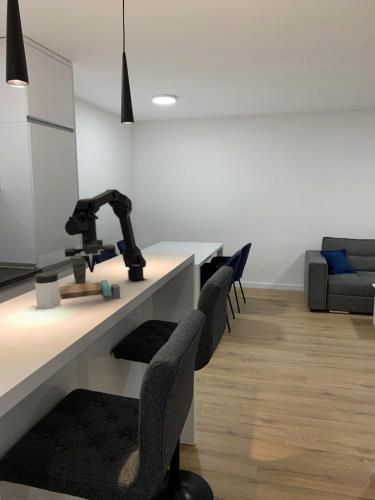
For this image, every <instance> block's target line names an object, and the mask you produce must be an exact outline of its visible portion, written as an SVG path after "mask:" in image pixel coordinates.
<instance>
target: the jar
mask: <svg viewBox="0 0 375 500" xmlns="http://www.w3.org/2000/svg"><path fill="white" fill-rule="evenodd" d="M59 282H60V281H59V274H58V272H56V271H47V272H46V271H44V272H39V273H36V274H35V275H34V285H35V296H36V305H37V308H38V309H52V308H55V307H58V306H61V295H60V291H59V287H60V283H59Z"/></svg>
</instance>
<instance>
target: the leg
mask: <svg viewBox="0 0 375 500" xmlns="http://www.w3.org/2000/svg"><path fill="white" fill-rule="evenodd" d="M100 282H101V287H102V290H103V293H104V294H103V295H104V296H105V297H106V296H112V295H111V288H110V287H111V285H110V284H109V282H108V279H107V280H106V279H103V280H100Z"/></svg>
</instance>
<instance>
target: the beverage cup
mask: <svg viewBox="0 0 375 500" xmlns="http://www.w3.org/2000/svg"><path fill="white" fill-rule="evenodd" d="M74 247H75V249H78V248H77V242H76V240H75V239H74ZM70 262H71V265H72V272H73V277H74V283H75V285H78V284H86V279H87V277H86V275H87V274H86V271H87V270H86V269H87V267H86V266H87V262H86V260H85V259H84V258H81V255H80V254H76V255H75V256H71V257H70Z"/></svg>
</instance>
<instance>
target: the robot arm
mask: <svg viewBox="0 0 375 500" xmlns="http://www.w3.org/2000/svg"><path fill="white" fill-rule="evenodd" d="M107 204H108V205H109V206H110V207H111V209H112V212H113V214H114V215H115V217H117V218H118V221H119V224H120V231H121V234H122V238H123V245H124V247H125V248H124V251H123V252H122V254H121V257H122V259H123V260H122V261H123V262H124V267H125V268H128V270H127V279H128V280H129V281H130V282H139V281H145V280H146V279H145V277H144V268H146V267H147V261H146V258H145V257H144V255H143V254H142V251H141V249H140V248H139V247H138V246H137V244H136V239H135V236H134V230H133V226H132V225H133V224H132V219H131V214H132V211H133V203H132V200H131V199H130V198H129V196H127V195H125V194H124V193H122V192H120V191H119V190H118V189H106V190H104V192H102V193H99V194H97V195H94V196H93V197H87V198H82V199H78V200H77V201H76V204H75V206H74V209H73V211H72V214H71V216H68V220H67V221H66V222H65V225H64V231H65V232H66V234H67V235H69V236H79V235H81V236H80V237H81V248H77V249H76V247H75V246H72V247H71V246H70V247H69V246H68V247H65V248H64V257H65V258H69V257H70V258H71V256H75V255H76V254H80V255H81V258H84V259H85V260H86V265H87V267H88V269H89V271H90V273H94V270H95V265H96V262H97V260H98V257H101V255H102V254H101V252H102V253H103V252H105V253H106V254H116V253H117V251H116V245H114V244H113V243H111V244H110V243H109V244H108V243H107V244H104V243H103V241H104V240H103V239H98V235H97V233H98V232H97V223H96V222H97V221H96V220H99V216H97V215H96V214H97V213H98V212H99V211H100V209H101V207H103V206H105V205H107ZM90 254H91V259H90Z"/></svg>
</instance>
